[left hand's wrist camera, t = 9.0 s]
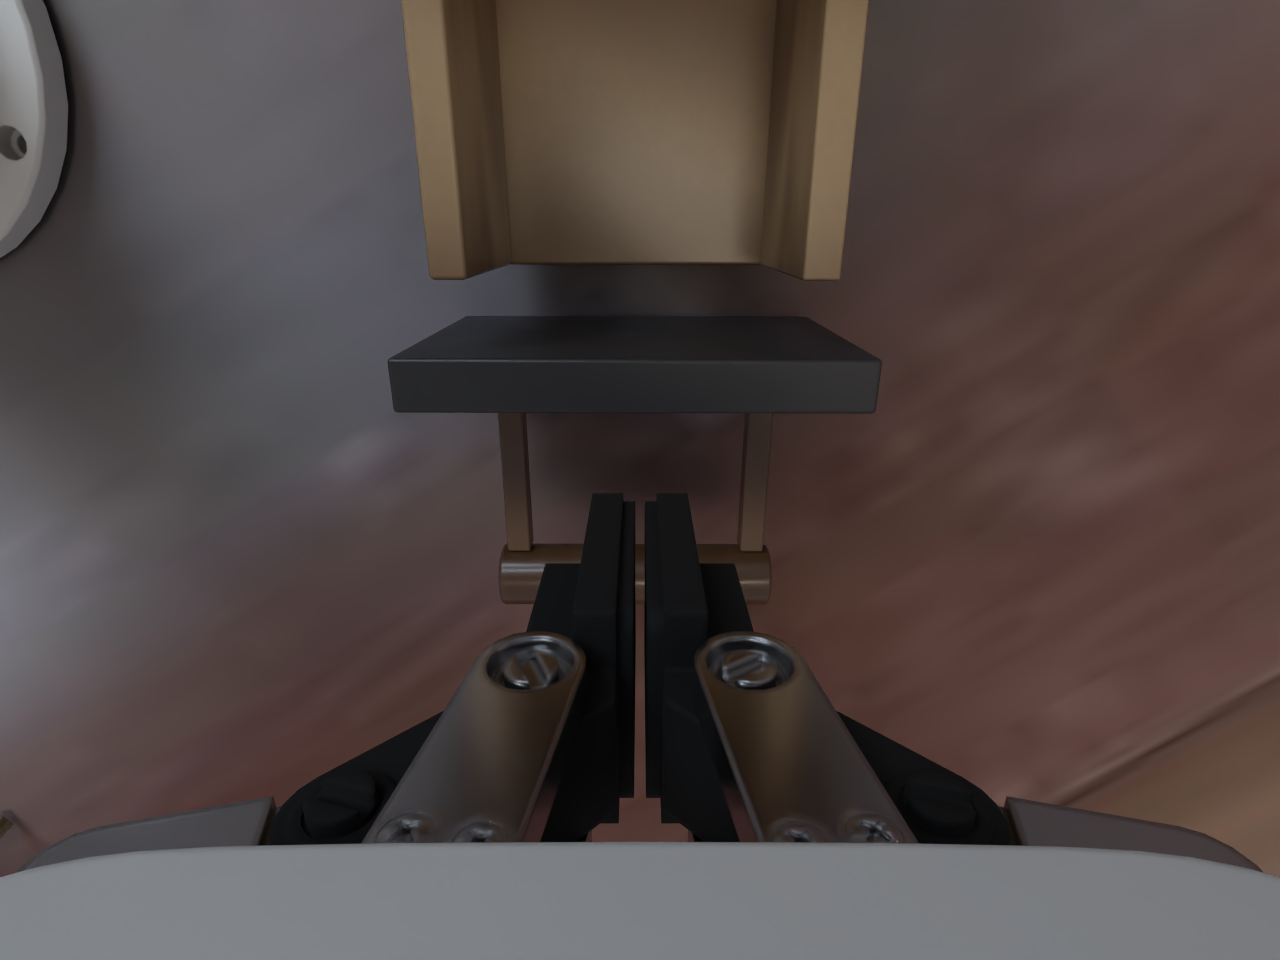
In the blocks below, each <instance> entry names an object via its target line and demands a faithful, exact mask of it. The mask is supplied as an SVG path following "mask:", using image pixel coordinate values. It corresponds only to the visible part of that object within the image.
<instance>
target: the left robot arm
mask: <svg viewBox="0 0 1280 960" xmlns="http://www.w3.org/2000/svg"><path fill="white" fill-rule="evenodd" d="M67 127H68V100H67V93H66V86H65V79H64V71H63V64H62V58H61V55H60V51H59V48H58V45H57V41H56V38H55V35H54V32H53V28H52V25H51V22H50V18H49V15H48V12H47V9H46V6H45V4H44V2H43V0H0V258H1V257H3V256H4V255H6V254H7V253H9V252H10V251H12V250H13V249H15V248H16V247H18V246H19V244H20V243H21V242H22V241H23V240H24V239H25V238H26V236H27V235H28V234H29V233H30V232H31V231H32V230H33V229H34V227H35V226H36V225H37V224H38V223H39V222H40V221H41V219H42V217H43V215H44V213H45V211H46V209H47V207H48V205H49V203H50V201H51V199H52V197H53V195H54V193H55V191H56V189H57V186H58V182H59V178H60V174H61V170H62V166H63V162H64V158H65V154H66V150H67ZM635 644H636V629H635V501H623V494H593V495H592V500H591V506H590V512H589V518H588V523H587V529H586V535H585V541H584V546H583V552H582V558H581V563H546V564H545V567H544V570H543V574H542V577H541V581H540V584H539V588H538V592H537V595H536V599H535V602H534V606H533V610H532V613H531V617H530V620H529V624H528V628H527V631H526V632H524V633H518V634H513V635H510V636H508V637H505V638H502V639H499V640H498V641H496V642H494V643H493V644H491V645H490V646H488V647H486V648H485V649H484V651H483V652H482V653H481V654H480V655H479V656H478V657H477V659H476V660H475V662H474V664H473V665H472V667H471V668H470V670H469V672H468V673H467V675H466V676H465V678H464V680H463V681H462V683H461V684H460V686H459V688H458V689H457V691H456V692H455V694H454V696H453V697H452V699H451V700H450V702H449V704H448V705H447V707H446V708H445V710H444V711H442V712H440V713H439V714H437V715H435V716H433V717H431V718H429V719H427V720H425V721H423V722H422V723H420V724H418V725H416V726H414V727H412V728H410V729H408V730H406V731H404V732H403V733H401V734H399V735H397V736H395V737H393V738H391V739H389V740H387V741H386V742H384V743H382V744H380V745H378V746H376V747H374V748H372V749H370V750H368V751H367V752H365V753H363V754H361V755H359V756H357V757H355V758H353V759H351V760H350V761H348V762H346V763H344V764H342V765H340V766H338V767H336V768H334V769H332V770H331V771H329V772H327V773H325V774H323V775H321V776H319V777H317V778H316V779H314V780H313V781H311V782H310V783H308V784H307V785H305V786H303V787H302V788H300V789H299V790H298V791H297V792H296V793H295V794H293V795H292V796H291V797H290V798H289V799H288V800H287V801H286V802H285V803H284V804H283V805H282V806H281V807H276V805H275V801H274V797H267V798H261V799H255V800H250V801H244V802H238V803H232V804H227V805H221V806H215V807H209V808H204V809H198V810H192V811H186V812H181V813H175V814H169V815H163V816H158V817H152V818H146V819H140V820H135V821H129V822H123V823H117V824H111V825H106V826H100V827H97V828H93V829H90V830H87V831H83V832H80V833H76V834H74V835H72V836H70V837H68V838H66V839H64V840H62V841H60V842H58V843H56V844H54V845H52V846H50V847H48V848H46V849H45V850H43V851H42V852H41V853H39V854H38V855H37V856H35V857H34V858H33V859H31V860H30V861H28V862H27V863H26V864H24V865H23V866H22V867H21V868H20V869H19V870H18V871H17V873H14V874H10V875H7V876H3V877H0V960H1280V877H1277V876H1273V875H1270V874H1266V873H1263V871H1262V870H1261V869H1260V868H1259V867H1258V866H1257V865H1256V864H1254V863H1253V862H1252V861H1250V860H1249V859H1247V858H1246V857H1245V856H1243V855H1242V854H1241V853H1239V852H1238V851H1237V850H1235V849H1234V848H1232V847H1230V846H1228V845H1226V844H1224V843H1222V842H1220V841H1218V840H1216V839H1214V838H1212V837H1210V836H1208V835H1206V834H1204V833H1200V832H1197V831H1193V830H1190V829H1187V828H1183V827H1180V826H1174V825H1169V824H1163V823H1157V822H1151V821H1145V820H1140V819H1134V818H1128V817H1122V816H1117V815H1111V814H1105V813H1099V812H1094V811H1088V810H1082V809H1076V808H1071V807H1065V806H1059V805H1053V804H1048V803H1042V802H1036V801H1030V800H1025V799H1019V798H1013V797H1006V801H1005V805H1004V807H999V806H998V805H997V804H996V803H995V802H994V801H993V800H992V799H991V798H990V797H989V796H988V795H987V794H985V793H984V792H983V791H982V790H981V789H980V788H978V787H977V786H975V785H973V784H972V783H970V782H969V781H967V780H966V779H964V778H963V777H961V776H959V775H957V774H955V773H953V772H951V771H949V770H948V769H946V768H944V767H942V766H940V765H938V764H936V763H934V762H932V761H930V760H929V759H927V758H925V757H923V756H921V755H919V754H917V753H915V752H913V751H912V750H910V749H908V748H906V747H904V746H902V745H900V744H898V743H896V742H894V741H893V740H891V739H889V738H887V737H885V736H883V735H881V734H879V733H877V732H876V731H874V730H872V729H870V728H868V727H866V726H864V725H862V724H860V723H858V722H857V721H855V720H853V719H851V718H849V717H847V716H845V715H843V714H841V713H840V712H838V711H836V710H835V708H834V707H833V705H832V704H831V702H830V700H829V699H828V697H827V696H826V694H825V692H824V691H823V689H822V688H821V686H820V684H819V683H818V681H817V680H816V678H815V676H814V675H813V673H812V672H811V670H810V668H809V667H808V665H807V664H806V662H805V660H804V659H803V657H802V656H801V655H800V654H799V653H798V652H797V651H796V649H795V648H794V647H792V646H790V645H789V644H787V643H786V642H784V641H782V640H781V639H778V638H775V637H772V636H770V635H767V634H762V633H756V632H754V631H753V628H752V624H751V620H750V617H749V613H748V610H747V606H746V602H745V599H744V595H743V592H742V588H741V584H740V581H739V577H738V574H737V570H736V567H735V564H734V563H699V558H698V552H697V546H696V541H695V535H694V529H693V523H692V518H691V512H690V506H689V500H688V495H687V494H657V501H645V628H644V644H645V744H646V798H661V823H680V824H682V825H683V826H684V827H685V828H687V829H688V842H592V829H593V828H595V827H596V826H597V825H598V824H600V823H619V798H634V744H635Z"/></svg>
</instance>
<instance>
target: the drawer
mask: <svg viewBox="0 0 1280 960" xmlns="http://www.w3.org/2000/svg"><path fill="white" fill-rule="evenodd" d="M401 5H402V14H403V24H404V34H405V44H406V53H407V63H408V73H409V82H410V92H411V102H412V112H413V121H414V131H415V141H416V150H417V160H418V170H419V180H420V189H421V199H422V209H423V218H424V228H425V238H426V248H427V257H428V267H429V275H430V277H431V278H432V279H434V280H464V279H467V278H470V277H473V276H476V275H479V274H482V273H485V272H488V271H491V270H494V269H497V268H500V267H503V266H506V265H509V264H576V265H763V266H766V267H769V268H772V269H774V270H777V271H780V272H783V273H785V274H788V275H791V276H794V277H796V278H799V279H802V280H805V281H838V280H840V278H841V269H842V260H843V250H844V240H845V230H846V221H847V211H848V201H849V191H850V181H851V172H852V162H853V152H854V142H855V133H856V123H857V113H858V103H859V94H860V84H861V74H862V64H863V55H864V45H865V35H866V25H867V15H868V6H869V0H401ZM881 366H882V362H881V360H880V359H878V358H876V357H875V356H873V355H871V354H869V353H868V352H866V351H864V350H863V349H861V348H859V347H857V346H856V345H854V344H852V343H850V342H849V341H847V340H845V339H844V338H842V337H840V336H838V335H837V334H835V333H833V332H831V331H830V330H828V329H826V328H825V327H823V326H821V325H819V324H818V323H816V322H814V321H812V320H811V319H809V318H807V317H607V316H466V317H464V318H462V319H460V320H459V321H457V322H455V323H453V324H451V325H450V326H448V327H446V328H444V329H442V330H440V331H439V332H437V333H435V334H433V335H431V336H429V337H428V338H426V339H424V340H422V341H420V342H419V343H417V344H415V345H413V346H411V347H409V348H408V349H406V350H404V351H402V352H400V353H399V354H397V355H395V356H393V357H391V358H389V359H388V369H389V377H390V384H391V392H392V400H393V408H394V411H395V412H433V413H498V420H499V434H500V447H501V461H502V475H503V488H504V502H505V515H506V529H507V542H508V544H506V545H504V547H503V550H502V553H501V557H500V564H499V590H500V596H501V599H502V602H503V603H505V604H534V602H535V599H536V595H537V592H538V588H539V584H540V581H541V577H542V574H543V570H544V567H545V564H546V563H581V558H582V552H583V546H584V544H532V543H533V525H532V508H531V491H530V474H529V457H528V440H527V423H526V413H745V420H744V437H743V454H742V471H741V488H740V505H739V522H738V540H737V542H738V544H696V546H697V552H698V558H699V563H734V564H735V567H736V570H737V574H738V577H739V581H740V584H741V588H742V592H743V595H744V599H745V602H746V605H764V604H767V603H768V601H769V598H770V593H771V581H772V574H771V561H770V555H769V551H768V548H767V546H766V545H764V544H763V538H764V524H765V511H766V497H767V483H768V470H769V456H770V443H771V429H772V415H773V413H874V412H875V411H876V405H877V397H878V389H879V381H880V374H881ZM635 604H645V544H635Z"/></svg>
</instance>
